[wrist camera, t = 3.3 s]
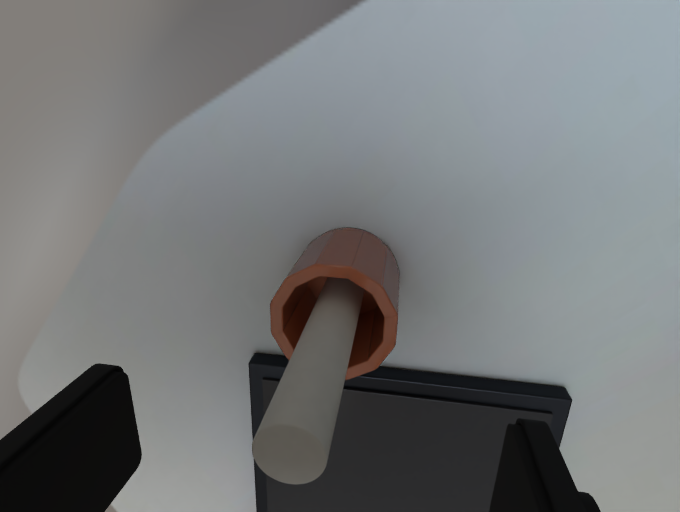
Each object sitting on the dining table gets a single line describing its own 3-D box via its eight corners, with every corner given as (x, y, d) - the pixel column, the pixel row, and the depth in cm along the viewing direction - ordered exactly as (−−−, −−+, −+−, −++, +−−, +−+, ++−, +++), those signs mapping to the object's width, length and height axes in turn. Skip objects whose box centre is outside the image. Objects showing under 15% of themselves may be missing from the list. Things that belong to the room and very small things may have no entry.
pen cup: (301, 314, 21) (271, 372, 16) (300, 224, 19) (267, 259, 15) (394, 323, 20) (392, 386, 16) (402, 231, 19) (402, 270, 14)
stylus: (328, 294, 20) (252, 479, 10) (329, 259, 19) (249, 419, 9) (365, 297, 20) (326, 490, 10) (367, 262, 19) (327, 429, 9)
